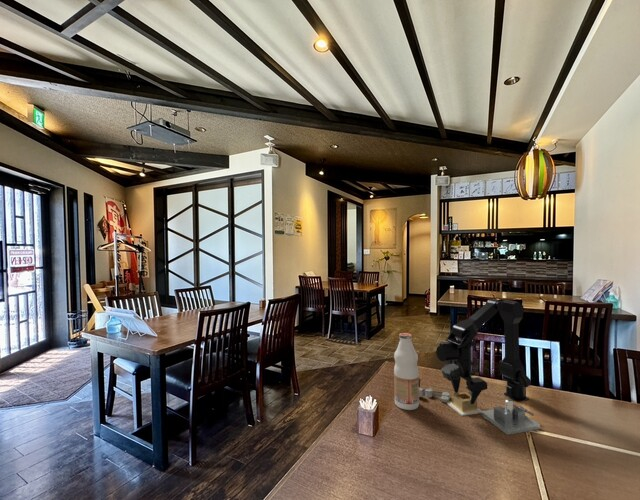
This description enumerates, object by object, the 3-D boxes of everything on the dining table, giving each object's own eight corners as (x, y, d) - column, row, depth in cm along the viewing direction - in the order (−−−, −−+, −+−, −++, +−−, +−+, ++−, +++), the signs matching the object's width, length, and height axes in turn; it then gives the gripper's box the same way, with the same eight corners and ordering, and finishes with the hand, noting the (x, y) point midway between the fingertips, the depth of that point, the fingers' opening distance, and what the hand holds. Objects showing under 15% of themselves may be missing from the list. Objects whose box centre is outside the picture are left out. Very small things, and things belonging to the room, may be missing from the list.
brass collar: (465, 401, 122) (465, 391, 122) (477, 409, 116) (477, 399, 116) (451, 403, 121) (451, 393, 121) (462, 412, 115) (462, 401, 115)
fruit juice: (395, 409, 118) (393, 337, 118) (394, 397, 127) (392, 330, 127) (420, 411, 116) (419, 338, 116) (417, 399, 126) (416, 331, 125)
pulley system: (426, 411, 118) (456, 401, 123) (425, 399, 118) (455, 390, 123) (387, 385, 144) (413, 377, 149) (386, 375, 144) (412, 368, 149)
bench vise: (513, 410, 116) (513, 390, 116) (542, 428, 104) (542, 406, 104) (481, 415, 113) (480, 395, 113) (507, 434, 101) (507, 412, 101)
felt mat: (466, 400, 124) (466, 399, 124) (482, 412, 115) (482, 411, 115) (446, 403, 122) (446, 402, 122) (461, 415, 113) (461, 414, 113)
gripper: (430, 351, 126) (431, 389, 126) (460, 369, 107) (461, 413, 107) (454, 349, 128) (455, 386, 128) (488, 366, 110) (488, 409, 110)
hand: (463, 398), depth 118 cm, fingers open, 9 cm apart
